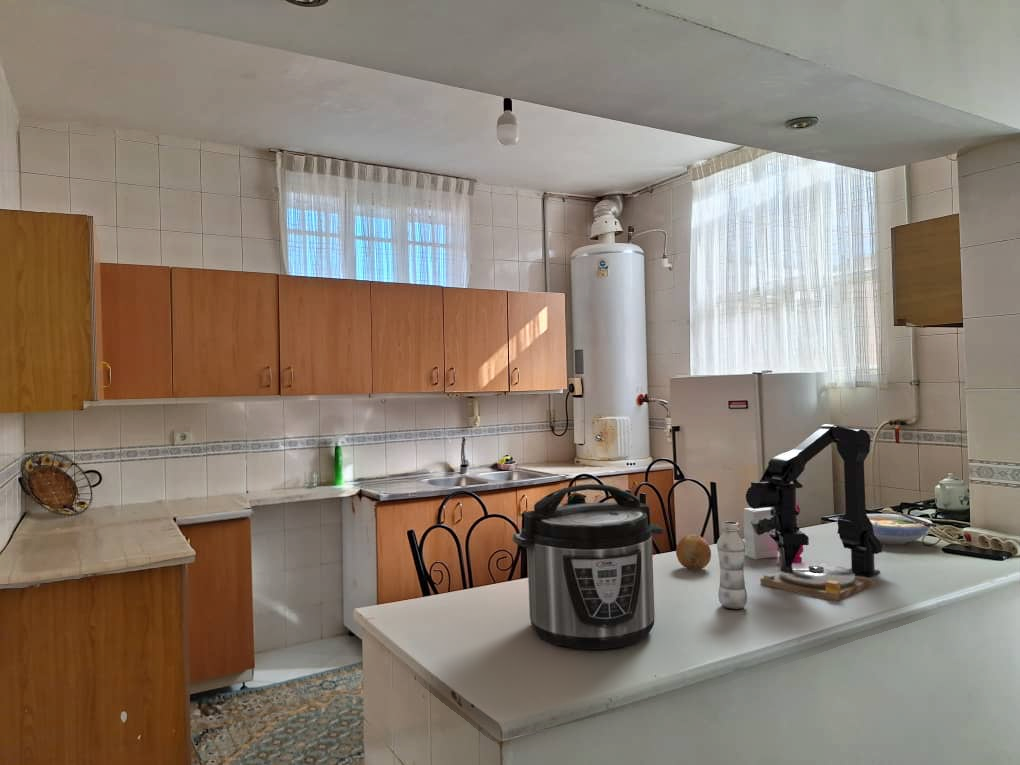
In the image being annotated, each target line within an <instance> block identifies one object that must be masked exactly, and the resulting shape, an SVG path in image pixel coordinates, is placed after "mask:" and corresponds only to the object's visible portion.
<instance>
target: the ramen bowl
mask: <svg viewBox="0 0 1020 765" xmlns="http://www.w3.org/2000/svg"><path fill="white" fill-rule="evenodd" d="M894 513H896V514H893V513H892V514H891V513H866V515H867V516H868V518H869V520H870V521H871V523H872V525H873V531H874V535H875V536H876V538H877V539H878V540H879V541H880V542H881V543H882V544H888V545H896V546H897V545H905V544H906V543H909V542H914V541H917V540H919V539H921V538H922V537H923V536H924V535H925V534H926V533H927V532H928V531H929V530H930V528H931V527H933V528H936V527H937V524H934V523H933V522H932V521H931V520H930V519H927V518H923V517H918V516H911V515H906V514H904V513H902V512H901V513H900V512H898V511H897V512H894Z"/></svg>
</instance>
